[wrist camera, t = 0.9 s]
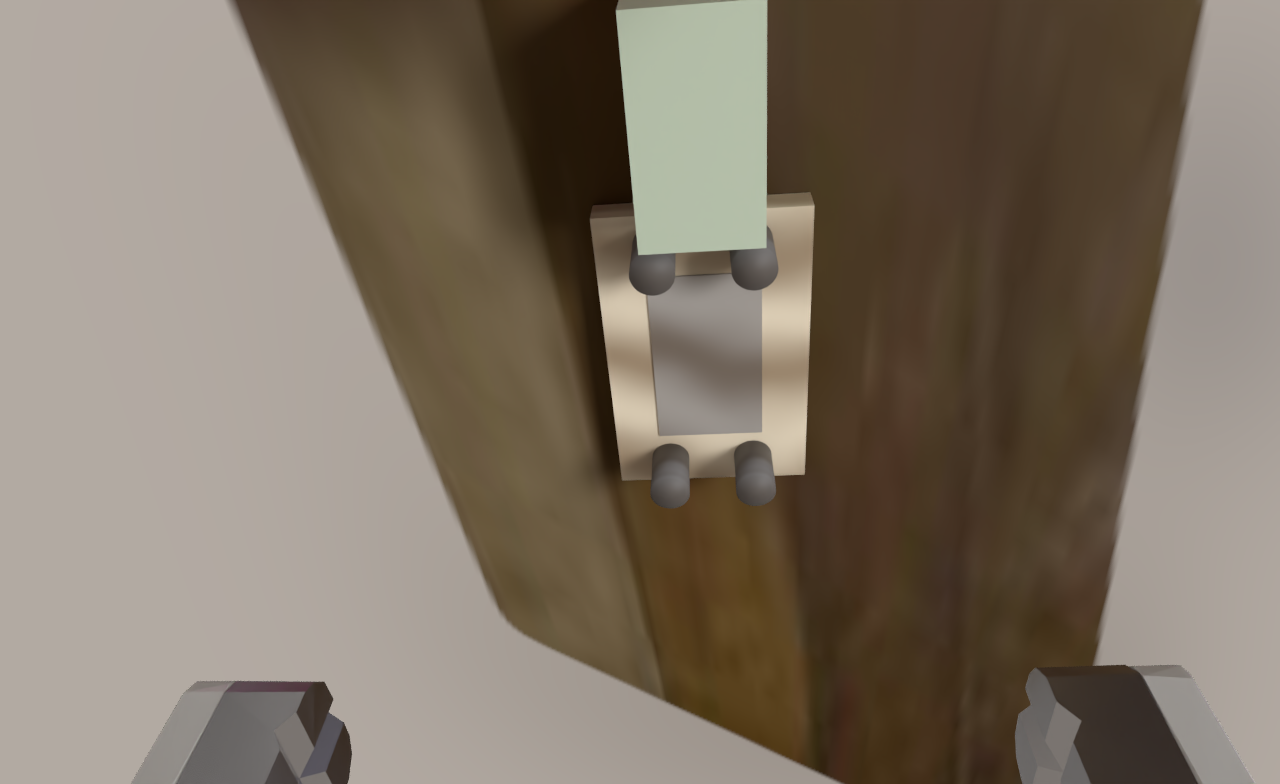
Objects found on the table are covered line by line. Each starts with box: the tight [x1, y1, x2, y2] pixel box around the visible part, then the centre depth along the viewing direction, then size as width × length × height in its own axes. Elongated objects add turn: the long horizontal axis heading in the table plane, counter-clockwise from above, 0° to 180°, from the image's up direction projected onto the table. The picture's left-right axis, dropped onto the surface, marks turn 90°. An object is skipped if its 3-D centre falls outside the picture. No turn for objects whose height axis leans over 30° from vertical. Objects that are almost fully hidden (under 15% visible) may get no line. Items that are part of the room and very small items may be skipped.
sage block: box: [616, 0, 767, 255], centre depth 34 cm, size 9×5×7 cm, turn 5°
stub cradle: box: [590, 192, 814, 508], centre depth 42 cm, size 16×10×4 cm, turn 5°
